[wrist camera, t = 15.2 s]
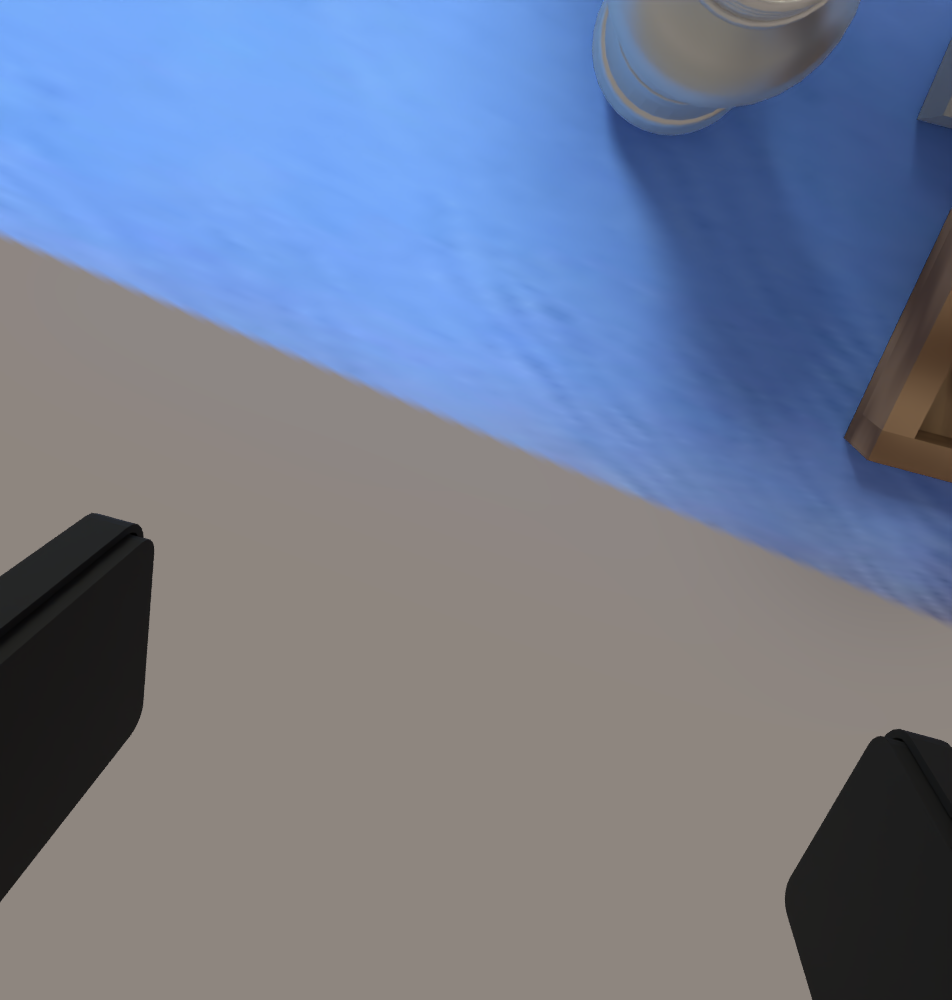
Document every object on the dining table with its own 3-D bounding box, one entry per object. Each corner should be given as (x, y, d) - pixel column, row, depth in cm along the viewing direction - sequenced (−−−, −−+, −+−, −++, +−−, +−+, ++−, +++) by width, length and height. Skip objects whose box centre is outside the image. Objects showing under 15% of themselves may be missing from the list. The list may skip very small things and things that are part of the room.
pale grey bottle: (686, 168, 34) (823, 159, 16) (559, 83, 33) (551, -30, 15) (781, 23, 32) (1073, -186, 13) (647, -73, 31) (762, -434, 13)
